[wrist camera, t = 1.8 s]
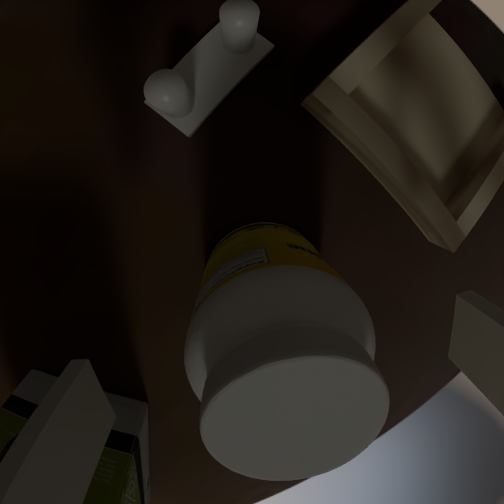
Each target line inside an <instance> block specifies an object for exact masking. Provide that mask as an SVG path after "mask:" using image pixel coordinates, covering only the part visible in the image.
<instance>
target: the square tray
mask: <svg viewBox="0 0 504 504" xmlns="http://www.w3.org/2000/svg"><path fill="white" fill-rule="evenodd" d="M440 1H441V0H407V1H406V2H405V3H404V4H403V5H402V6H401V7H399V8H398V9H397V10H396V11H395V12H394V13H393V14H392V15H390V16H389V17H388V18H387V19H386V20H385V21H384V22H383V23H382V24H381V25H380V26H378V27H377V28H376V29H375V30H374V31H373V32H372V33H371V34H370V35H369V36H368V37H367V38H366V39H365V40H364V41H362V42H361V43H360V44H359V45H358V46H357V47H356V48H355V49H354V50H353V51H352V52H351V53H350V54H349V55H348V56H347V57H346V58H345V59H344V60H343V61H342V62H341V63H340V64H339V65H338V66H337V67H336V68H335V69H334V70H333V71H332V72H331V73H330V74H329V75H328V76H327V77H326V78H325V79H324V80H323V81H322V82H321V83H320V84H319V85H318V86H317V87H316V88H315V89H314V90H313V91H312V92H311V93H310V94H309V95H308V96H307V97H306V98H305V99H304V101H303V102H302V103H301V104H300V105H302V106H303V107H304V108H305V109H306V110H307V111H308V112H309V113H311V114H312V115H313V116H314V117H315V118H316V119H317V120H318V121H319V122H320V123H322V124H323V125H324V126H325V127H326V128H327V129H328V130H329V131H330V132H331V133H332V134H333V135H334V136H335V137H336V138H337V139H338V140H339V141H340V142H341V143H342V144H343V145H344V146H345V147H346V148H347V149H348V150H349V151H350V152H351V153H352V154H353V155H354V156H355V157H356V158H357V159H358V160H359V161H360V162H361V163H362V164H363V165H364V166H365V167H366V168H367V169H368V170H369V171H370V172H371V173H372V174H373V175H374V177H375V178H376V179H377V180H378V181H379V182H380V183H381V184H382V185H383V186H384V188H385V189H386V190H387V191H388V192H389V193H390V194H391V195H392V197H393V198H394V199H395V200H396V201H397V202H398V203H399V205H400V206H401V207H402V208H403V209H404V210H405V212H406V213H407V214H408V215H409V216H410V218H411V219H412V220H413V221H414V223H415V224H416V225H417V226H418V227H419V229H420V230H421V231H422V232H423V234H424V235H425V236H426V238H427V239H428V240H429V241H430V242H432V243H434V244H436V245H438V246H440V247H443V248H445V249H447V250H449V251H451V252H453V253H454V252H455V251H456V249H457V248H458V247H459V245H460V244H461V243H462V241H463V240H464V239H465V237H466V236H467V234H468V233H469V232H470V230H471V229H472V228H473V226H474V225H475V223H476V222H477V220H478V219H479V218H480V216H481V215H482V213H483V212H484V210H485V209H486V207H487V206H488V204H489V203H490V201H491V200H492V198H493V196H494V195H495V193H496V192H497V190H498V189H499V187H500V185H501V184H502V182H503V180H504V110H503V109H502V107H501V105H500V104H499V102H498V101H497V99H496V97H495V96H494V94H493V93H492V91H491V90H490V88H489V87H488V85H487V84H486V83H485V81H484V80H483V78H482V77H481V75H480V74H479V73H478V71H477V70H476V69H475V67H474V66H473V65H472V63H471V62H470V61H469V59H468V58H467V57H466V56H465V54H464V53H463V52H462V51H461V49H460V48H459V47H458V46H457V44H456V43H455V42H454V41H453V40H452V39H451V37H450V36H449V35H448V34H447V33H446V32H445V31H444V29H443V28H442V27H441V26H440V25H439V24H438V23H437V22H436V21H435V20H434V19H433V18H432V16H431V15H430V14H429V12H430V11H431V10H432V9H433V8H434V7H435V6H436V5H437V4H438V3H439V2H440Z"/></svg>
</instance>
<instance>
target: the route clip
mask: <svg viewBox="0 0 504 504" xmlns="http://www.w3.org/2000/svg"><path fill="white" fill-rule="evenodd" d="M259 14H260V11H259V8H258V6H257V4H256V3H255V2H253V1H252V0H227V1H226V2H224V3H223V4H222V6H221V7H220V11H219V15H220V22H219V23H218V24H217V25H216V26H215V27H214V28H213V29H212V30H211V31H210V32H209V33H208V34H207V35H205V36H204V37H203V38H202V39H201V40H200V41H199V42H198V43H197V44H196V45H195V46H194V47H193V48H192V49H191V50H190V51H189V52H188V53H187V54H186V55H185V56H184V57H183V59H182V60H181V61H180V62H179V63H178V64H177V65H176V66H175V67H174V68H173V69H172V70H171V69H162V70H158V71H156V72H154V73H153V74H152V75H151V76H150V77H149V78H148V79H147V81H146V83H145V85H144V95H145V98H146V100H145V101H144V103H146V104H147V105H148V106H150V107H151V108H152V109H154V110H155V111H156V112H157V113H159V114H160V115H161V116H163V117H164V118H165V119H166V120H168V121H169V122H170V123H171V124H173V125H174V126H175V127H176V128H178V129H179V130H180V131H182V132H183V133H184V134H185V135H187V136H188V137H189V138H190V137H191V136H192V135H193V134H194V132H195V131H196V130H197V129H198V128H199V127H200V125H201V124H202V123H203V122H204V121H205V120H206V119H207V117H208V116H209V115H210V114H211V113H212V112H213V111H214V110H215V109H216V107H217V106H218V105H219V104H220V103H221V102H222V101H223V100H224V99H225V98H226V97H227V95H228V94H229V93H230V92H231V91H232V90H233V89H234V88H235V87H236V86H237V85H238V84H239V83H240V82H241V81H242V80H243V79H244V78H245V77H246V76H247V75H248V74H249V73H250V72H251V71H252V70H253V69H254V68H255V67H256V66H257V65H258V64H259V63H260V62H261V61H262V60H263V59H264V58H265V57H266V56H267V55H268V54H269V53H270V52H271V51H272V50H273V49H274V46H275V45H273V44H272V43H271V42H269V41H268V40H267V39H265V38H264V37H263V36H261V35H260V34H259V33H257V32H256V31H257V25H258V20H259Z"/></svg>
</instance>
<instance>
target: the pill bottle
mask: <svg viewBox="0 0 504 504" xmlns="http://www.w3.org/2000/svg"><path fill="white" fill-rule="evenodd" d="M374 356H375V332H374V327H373V323H372V320H371V317H370V315H369V312H368V310H367V309H366V307H365V305H364V303H363V302H362V301H361V299H360V298H359V296H358V295H357V294H356V293H355V292H354V290H353V289H352V288H351V287H350V286H349V285H348V284H347V282H346V281H345V280H344V279H343V278H342V277H341V276H340V275H339V274H338V273H337V272H336V271H335V269H334V268H333V267H332V266H331V265H330V264H329V263H328V262H327V261H326V259H325V258H324V257H323V256H322V255H321V254H320V253H319V252H318V251H317V250H316V249H315V247H314V246H313V245H312V244H311V243H310V242H309V241H308V240H307V239H306V238H305V237H304V236H302V235H301V234H300V233H298V232H297V231H295V230H294V229H292V228H290V227H287V226H284V225H281V224H277V223H271V222H259V223H253V224H249V225H246V226H243V227H240V228H238V229H236V230H234V231H232V232H231V233H229V234H228V235H227V236H225V237H224V238H223V239H222V240H221V241H220V242H219V243H218V244H217V246H216V247H215V249H214V250H213V251H212V253H211V255H210V257H209V260H208V262H207V265H206V267H205V271H204V275H203V278H202V281H201V285H200V289H199V292H198V296H197V299H196V302H195V306H194V310H193V313H192V317H191V320H190V323H189V327H188V331H187V335H186V340H185V348H184V362H185V369H186V373H187V377H188V380H189V382H190V385H191V387H192V389H193V391H194V393H195V394H196V396H197V397H198V399H199V400H200V401H201V412H200V433H201V438H202V440H203V443H204V445H205V446H206V448H207V450H208V451H209V452H210V454H211V455H212V456H213V457H214V458H215V459H216V460H217V461H218V462H220V463H221V464H222V465H224V466H225V467H227V468H229V469H230V470H232V471H234V472H237V473H239V474H242V475H245V476H248V477H252V478H256V479H263V480H273V481H285V480H297V479H303V478H309V477H313V476H316V475H320V474H323V473H326V472H329V471H331V470H333V469H335V468H337V467H340V466H342V465H343V464H345V463H347V462H348V461H350V460H352V459H353V458H355V457H356V456H357V455H359V454H360V453H361V452H362V451H363V450H365V449H366V448H367V447H368V446H369V445H370V444H371V443H372V442H373V441H374V439H375V438H376V437H377V435H378V434H379V432H380V431H381V429H382V427H383V425H384V423H385V421H386V418H387V415H388V410H389V402H390V400H389V392H388V388H387V385H386V382H385V380H384V378H383V376H382V375H381V373H380V371H379V370H378V368H377V367H376V365H375V363H374V362H373V361H374Z"/></svg>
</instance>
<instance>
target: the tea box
mask: <svg viewBox="0 0 504 504" xmlns="http://www.w3.org/2000/svg"><path fill="white" fill-rule="evenodd" d="M57 379H58V377H57V376H54V375H51V374H48V373H45V372H42V371H39V370H35V369H32V370H31V371H30V372H29V373H28V374H27V376H26V377H25V378H24V379H23V380H22V382H21V383H20V384H19V385H18V386H17V388H16V389H15V390H14V392H13V393H12V394H11V395H10V397H9V398H8V399H7V400H6V402H5V403H4V405H3V406H2V407H1V408H0V456H1V452H2V451H3V449H4V448H5V446H6V444H7V443H8V442H9V441H10V440H11V439H12V438H14V437H15V436H16V435H17V434H18V433H20V432H21V430H22V429H23V427H24V426H25V424H26V423H27V421H28V420H29V418H30V417H31V415H32V414H33V413H34V411H35V410H36V408H37V407H38V405H39V404H40V402H41V401H42V400H43V398H44V397H45V395H46V394H47V393H48V391H49V390H50V388H51V387H52V386H53V384H54V383H55V382H56V380H57ZM104 393H105V395H106V397H107V399H108V401H109V403H110V405H111V407H112V409H113V411H114V413H115V415H116V416H117V417H116V419H115V421H114V424H113V426H112V429H111V431H110V434H109V436H108V438H107V441H106V443H105V446H104V448H103V451H102V453H101V456H100V459H99V461H98V464H97V466H96V469H95V471H94V474H93V477H92V479H91V482H90V485H89V487H88V490H87V493H86V496H85V498H84V501H83V504H150V473H149V447H148V404H147V403H146V402H144V401H140V400H135V399H131V398H128V397H124V396H120V395H116V394H112V393H109V392H105V391H104Z"/></svg>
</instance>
